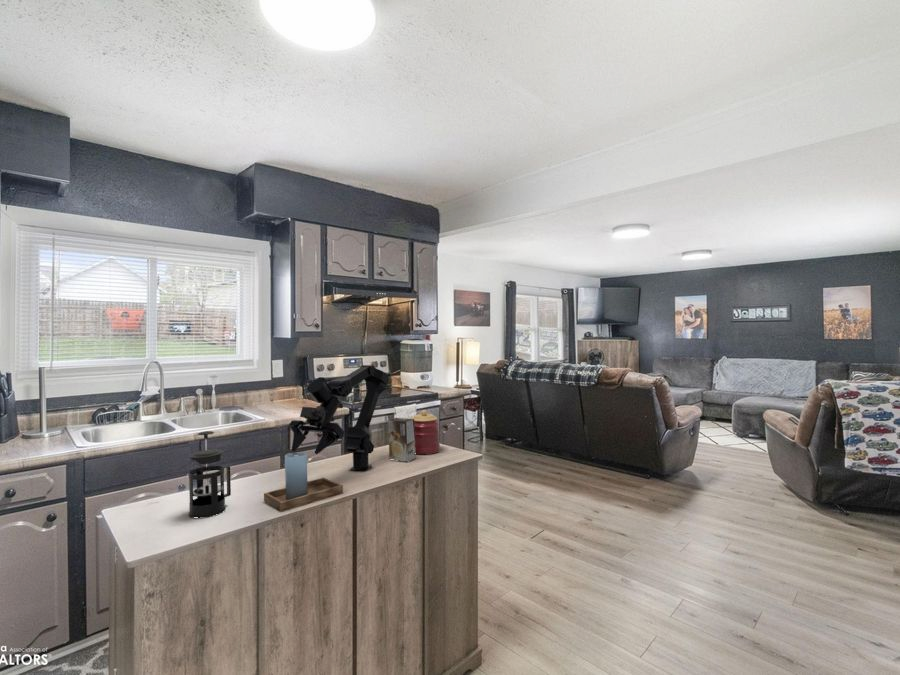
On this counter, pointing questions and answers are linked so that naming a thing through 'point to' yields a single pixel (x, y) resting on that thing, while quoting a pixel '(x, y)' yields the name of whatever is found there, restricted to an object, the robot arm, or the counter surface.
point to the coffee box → (401, 439)
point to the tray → (315, 493)
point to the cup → (296, 475)
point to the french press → (207, 495)
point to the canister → (426, 433)
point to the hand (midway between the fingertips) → (304, 452)
